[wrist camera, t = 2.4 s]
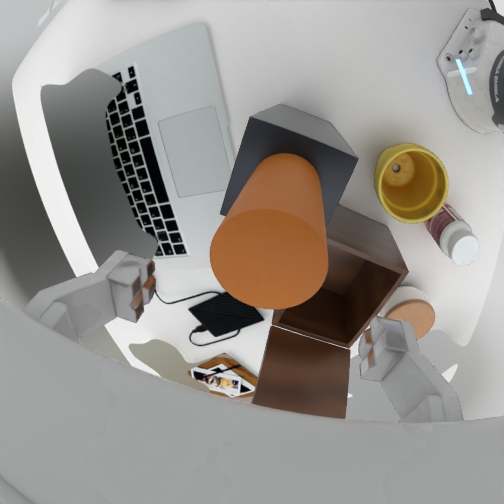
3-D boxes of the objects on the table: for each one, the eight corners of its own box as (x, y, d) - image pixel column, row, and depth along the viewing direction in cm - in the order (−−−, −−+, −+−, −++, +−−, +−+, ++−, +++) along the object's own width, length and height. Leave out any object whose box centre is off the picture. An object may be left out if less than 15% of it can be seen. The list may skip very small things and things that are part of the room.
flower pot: (358, 191, 43) (369, 216, 35) (370, 128, 37) (387, 138, 29) (415, 203, 42) (436, 230, 34) (430, 144, 36) (457, 159, 28)
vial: (263, 142, 19) (226, 190, 11) (331, 169, 19) (349, 237, 11) (243, 204, 22) (199, 287, 13) (304, 227, 22) (299, 322, 13)
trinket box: (431, 278, 48) (446, 310, 40) (414, 318, 54) (424, 350, 46) (383, 274, 50) (393, 307, 42) (370, 315, 56) (375, 350, 48)
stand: (280, 103, 38) (249, 116, 18) (331, 122, 38) (358, 158, 18) (263, 151, 43) (219, 214, 22) (312, 169, 43) (314, 249, 23)
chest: (316, 195, 45) (318, 234, 34) (387, 226, 45) (409, 271, 34) (280, 273, 54) (271, 324, 43) (344, 296, 54) (349, 348, 43)
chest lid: (243, 437, 29) (241, 438, 30) (340, 455, 30) (337, 456, 30) (271, 325, 42) (270, 327, 43) (350, 349, 42) (348, 351, 43)
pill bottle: (422, 234, 44) (445, 271, 35) (425, 201, 41) (451, 234, 32) (451, 232, 43) (477, 267, 33) (454, 200, 40) (485, 231, 30)
